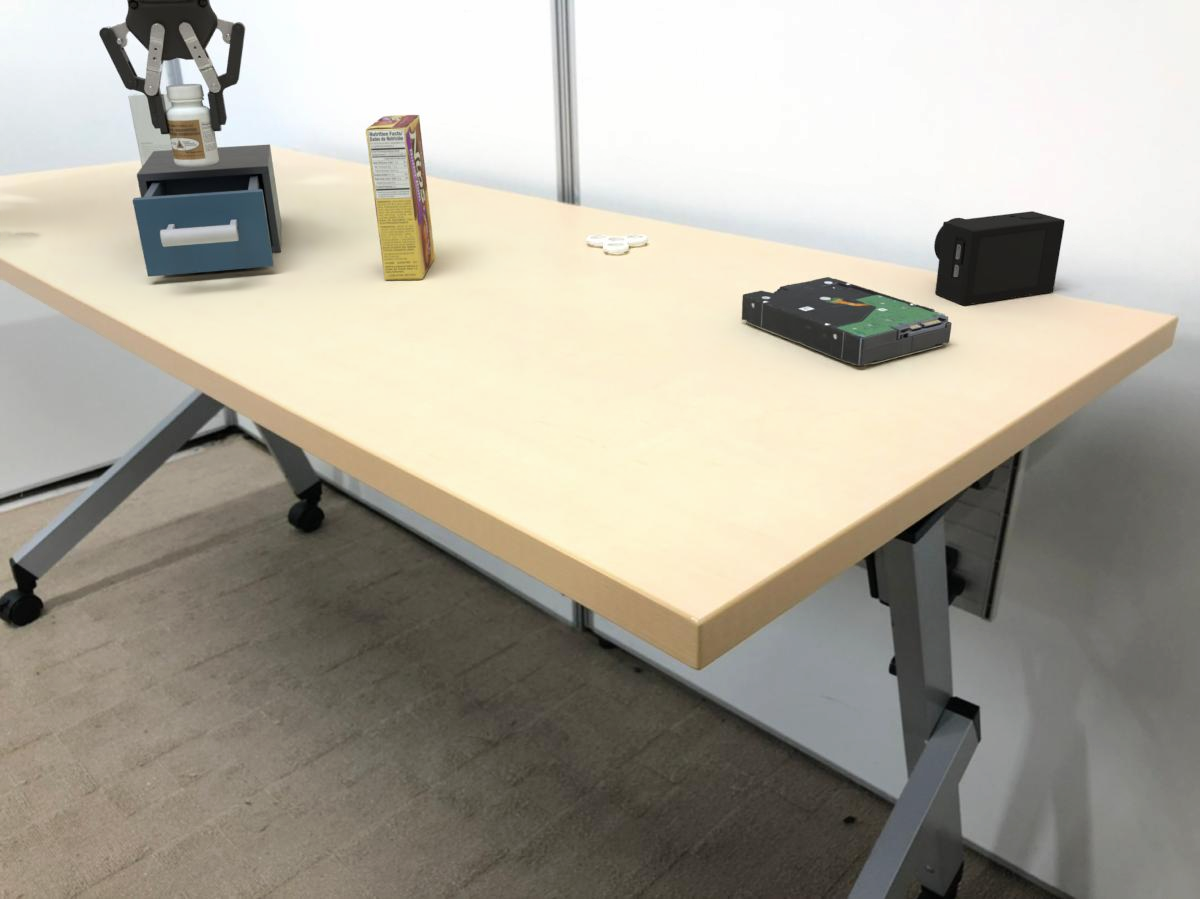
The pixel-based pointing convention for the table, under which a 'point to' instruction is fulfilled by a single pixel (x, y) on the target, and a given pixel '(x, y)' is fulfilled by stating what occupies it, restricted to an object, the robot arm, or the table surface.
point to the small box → (147, 126)
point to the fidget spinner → (616, 242)
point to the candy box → (401, 196)
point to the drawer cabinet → (229, 164)
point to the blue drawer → (203, 225)
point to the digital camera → (997, 257)
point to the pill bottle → (190, 127)
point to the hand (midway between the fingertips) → (191, 131)
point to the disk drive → (846, 320)
